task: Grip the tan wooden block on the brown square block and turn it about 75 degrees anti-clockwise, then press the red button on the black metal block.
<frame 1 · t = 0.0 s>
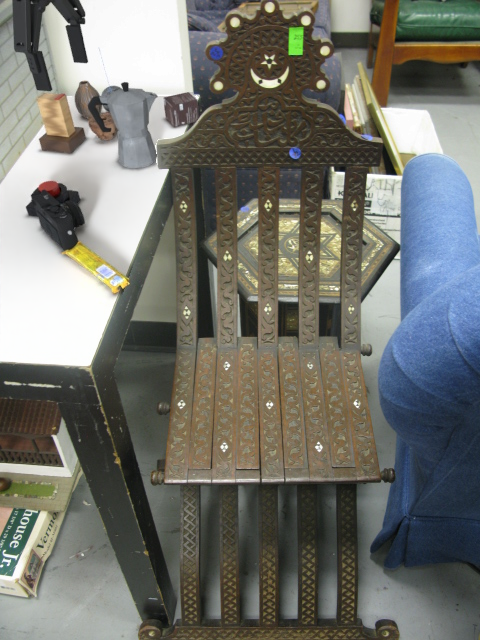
hand: (63, 75, 103), 26 cm above the table, tool pointing down, fingers open, 13 cm apart
candy bar: (93, 261, 100), point 2 cm above the table, touching camera
button: (49, 189, 115), point 4 cm above the table, slide at 0.1 cm
tan wooden block: (56, 114, 134), point 8 cm above the table, hinge at 0.0°
camera: (68, 235, 111), on the table, touching candy bar
vase: (91, 115, 150), on the table, touching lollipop
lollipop: (122, 75, 143), point 10 cm above the table, touching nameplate, vase
brown square block: (64, 144, 139), on the table
artifact: (107, 138, 141), on the table
box: (195, 106, 146), point 3 cm above the table
coffeepot: (134, 160, 132), on the table
button block: (55, 207, 118), on the table
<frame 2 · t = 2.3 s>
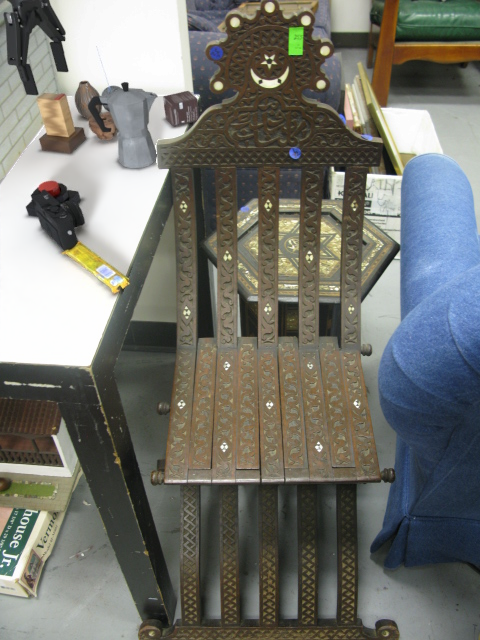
hand: (48, 82, 128), 15 cm above the table, tool pointing down, fingers open, 13 cm apart
vase: (91, 115, 150), on the table
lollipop: (121, 74, 143), point 11 cm above the table, touching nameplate
everything else where it was.
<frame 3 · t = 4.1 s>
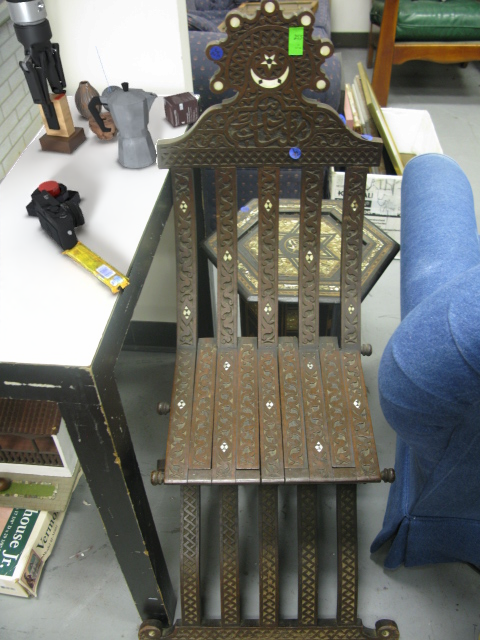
hand: (59, 124, 135), 5 cm above the table, tool pointing down, fingers closed on tan wooden block, 3 cm apart
tan wooden block: (56, 114, 134), point 8 cm above the table, hinge at -0.1°, touching gripper
vase: (91, 115, 150), on the table, touching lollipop
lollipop: (121, 74, 143), point 11 cm above the table, touching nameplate, vase
everything else where it was.
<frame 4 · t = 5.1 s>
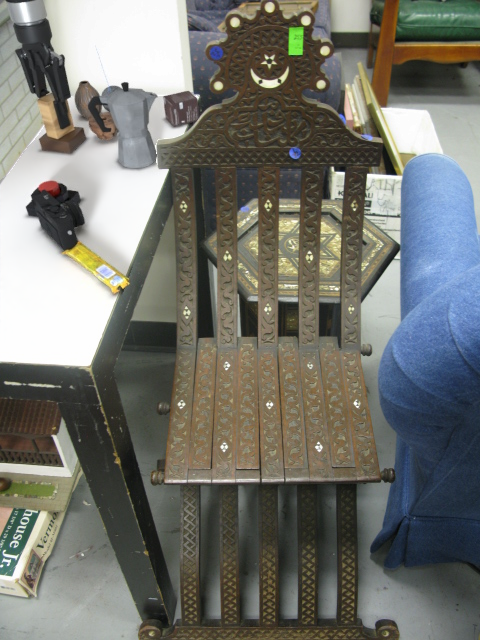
hand: (59, 125, 135), 5 cm above the table, tool pointing down, fingers closed on tan wooden block, 3 cm apart
tan wooden block: (56, 114, 134), point 8 cm above the table, hinge at 74.4°, touching gripper
vase: (91, 115, 150), on the table
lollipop: (121, 74, 143), point 11 cm above the table, touching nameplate
everything else where it was.
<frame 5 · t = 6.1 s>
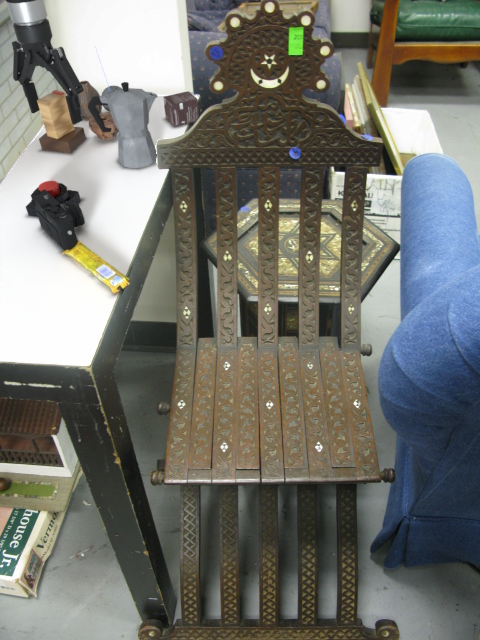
hand: (56, 116, 134), 7 cm above the table, tool pointing down, fingers open, 13 cm apart
tan wooden block: (56, 114, 134), point 8 cm above the table, hinge at 74.4°
everything else where it was.
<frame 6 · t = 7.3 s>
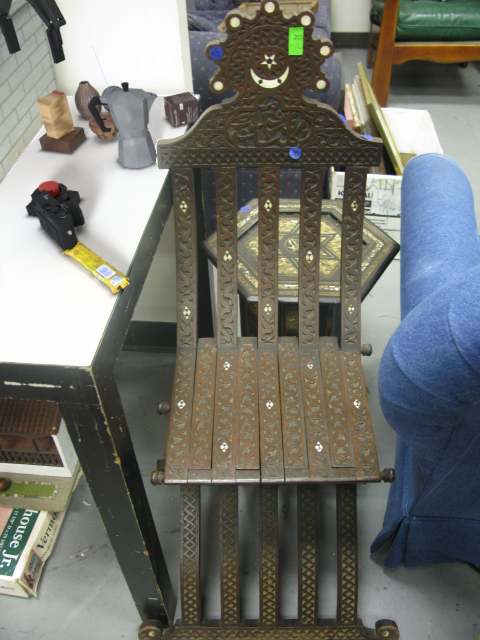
hand: (37, 56, 121), 22 cm above the table, tool pointing down, fingers open, 13 cm apart
candy bar: (93, 261, 100), point 2 cm above the table
camera: (68, 235, 111), on the table
vase: (91, 115, 150), on the table, touching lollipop
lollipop: (120, 73, 143), point 11 cm above the table, touching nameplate, vase
everything else where it was.
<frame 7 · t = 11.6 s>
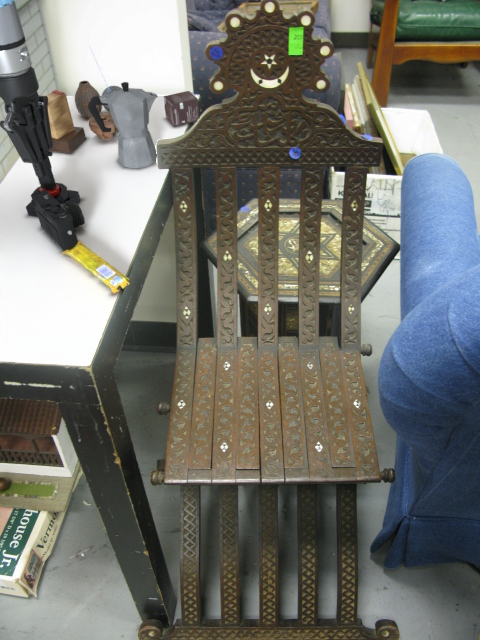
hand: (49, 187, 115), 5 cm above the table, tool pointing down, fingers closed
candy bar: (93, 261, 100), point 2 cm above the table, touching camera
button: (50, 192, 115), point 4 cm above the table, slide at -0.6 cm, touching gripper
camera: (68, 235, 111), on the table, touching candy bar
vase: (91, 115, 150), on the table
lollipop: (118, 73, 143), point 11 cm above the table, touching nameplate
everything else where it was.
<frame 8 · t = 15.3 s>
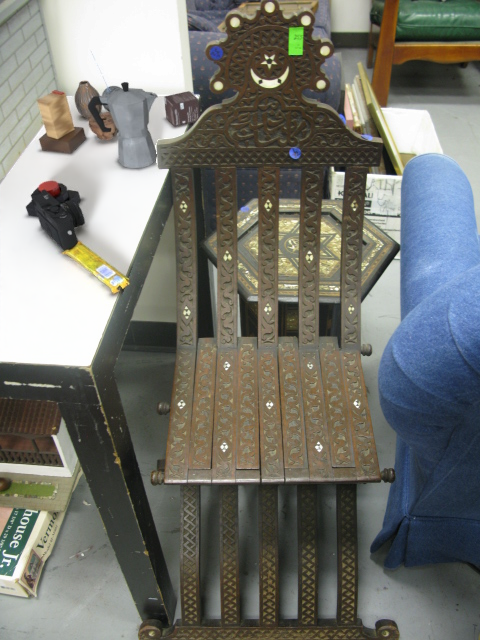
button: (49, 189, 115), point 4 cm above the table, slide at 0.1 cm
everything else where it was.
at the end: tan wooden block at +74° (first picture: +0°); button pushed in 1.0 cm at the most during the clip, back to where it started at the end; button slide at 0.1 cm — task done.
